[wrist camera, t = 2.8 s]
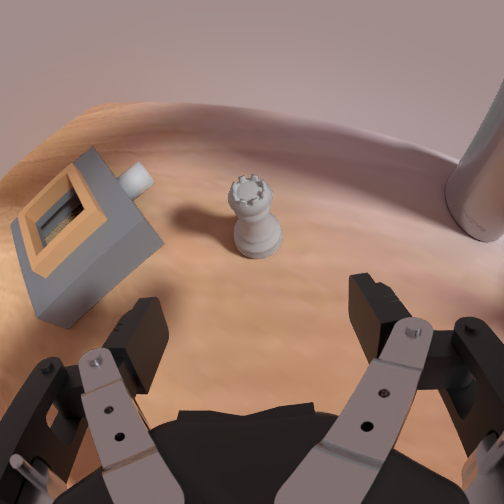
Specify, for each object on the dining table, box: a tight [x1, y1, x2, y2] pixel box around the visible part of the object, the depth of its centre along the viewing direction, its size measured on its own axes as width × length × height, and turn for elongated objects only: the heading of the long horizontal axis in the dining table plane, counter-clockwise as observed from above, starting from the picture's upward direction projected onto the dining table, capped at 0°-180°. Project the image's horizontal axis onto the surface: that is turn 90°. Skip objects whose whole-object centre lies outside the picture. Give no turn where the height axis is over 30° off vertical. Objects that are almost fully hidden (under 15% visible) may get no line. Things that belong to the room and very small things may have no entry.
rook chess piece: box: [228, 174, 283, 259], centre depth 24 cm, size 4×4×8 cm
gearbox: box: [11, 147, 165, 329], centre depth 27 cm, size 17×14×7 cm
